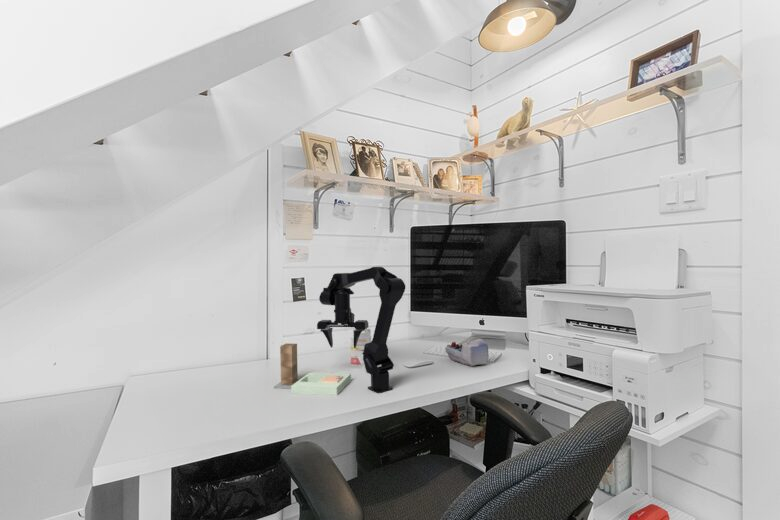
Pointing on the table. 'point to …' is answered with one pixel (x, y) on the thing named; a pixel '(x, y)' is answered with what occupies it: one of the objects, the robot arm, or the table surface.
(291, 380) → the walnut block
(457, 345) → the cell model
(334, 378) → the puzzle board
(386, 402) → the table surface
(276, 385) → the grey mat
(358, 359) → the ink cartridge box
